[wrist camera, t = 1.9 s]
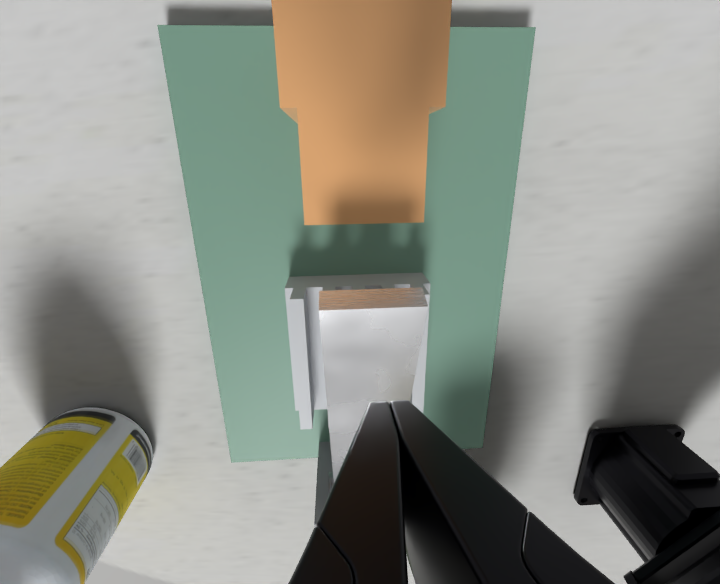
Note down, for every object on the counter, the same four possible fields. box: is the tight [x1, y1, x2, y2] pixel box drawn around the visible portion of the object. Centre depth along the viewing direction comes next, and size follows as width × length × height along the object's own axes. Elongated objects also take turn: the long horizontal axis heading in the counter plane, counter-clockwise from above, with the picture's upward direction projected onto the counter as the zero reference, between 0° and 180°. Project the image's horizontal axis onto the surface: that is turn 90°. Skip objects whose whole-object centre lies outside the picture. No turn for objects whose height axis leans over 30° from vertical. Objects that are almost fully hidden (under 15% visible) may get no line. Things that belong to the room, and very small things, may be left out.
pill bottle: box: [0, 407, 153, 584], centre depth 18 cm, size 6×6×12 cm
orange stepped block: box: [271, 0, 452, 225], centre depth 14 cm, size 6×5×6 cm
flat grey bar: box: [319, 287, 428, 494], centre depth 15 cm, size 14×4×1 cm, turn 1°
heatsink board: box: [158, 25, 536, 527], centre depth 17 cm, size 23×16×6 cm
